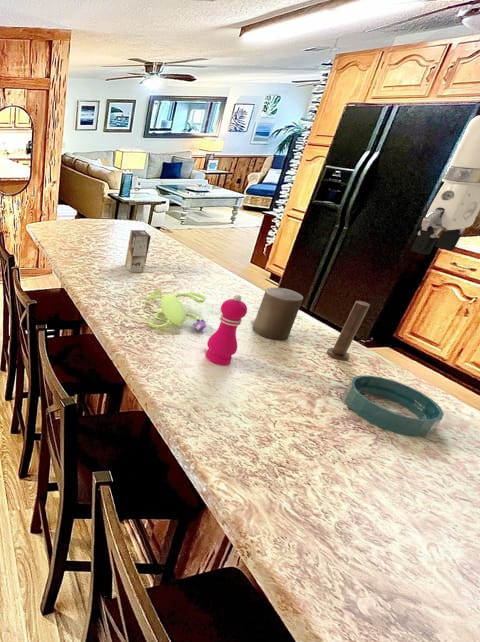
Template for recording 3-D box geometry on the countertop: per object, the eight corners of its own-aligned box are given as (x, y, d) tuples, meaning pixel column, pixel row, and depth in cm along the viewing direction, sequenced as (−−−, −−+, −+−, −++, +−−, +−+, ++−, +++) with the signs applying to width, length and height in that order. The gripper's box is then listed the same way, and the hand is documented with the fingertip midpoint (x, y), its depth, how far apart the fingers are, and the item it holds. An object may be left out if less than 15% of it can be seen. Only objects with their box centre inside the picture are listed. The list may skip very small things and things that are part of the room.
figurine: (201, 303, 140) (205, 289, 137) (209, 340, 117) (213, 324, 115) (147, 295, 146) (150, 281, 143) (145, 328, 123) (148, 313, 121)
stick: (333, 349, 114) (358, 298, 107) (352, 358, 110) (379, 306, 103) (322, 352, 113) (346, 300, 105) (340, 361, 109) (367, 308, 101)
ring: (366, 389, 98) (376, 370, 95) (444, 432, 85) (459, 411, 82) (325, 402, 93) (335, 382, 90) (402, 450, 80) (416, 428, 78)
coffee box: (144, 272, 166) (151, 236, 159) (129, 271, 166) (136, 236, 159) (138, 264, 174) (145, 230, 167) (124, 264, 174) (130, 229, 167)
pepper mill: (210, 348, 113) (229, 287, 105) (236, 360, 108) (258, 296, 100) (198, 357, 109) (217, 294, 100) (225, 369, 104) (247, 304, 95)
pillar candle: (286, 344, 116) (304, 299, 110) (249, 333, 122) (265, 290, 115) (288, 331, 123) (306, 288, 117) (253, 321, 129) (268, 280, 122)
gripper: (470, 180, 79) (430, 259, 86) (515, 177, 84) (473, 251, 91) (424, 175, 85) (390, 249, 92) (468, 172, 90) (432, 242, 98)
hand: (431, 250), depth 92 cm, fingers open, 9 cm apart
